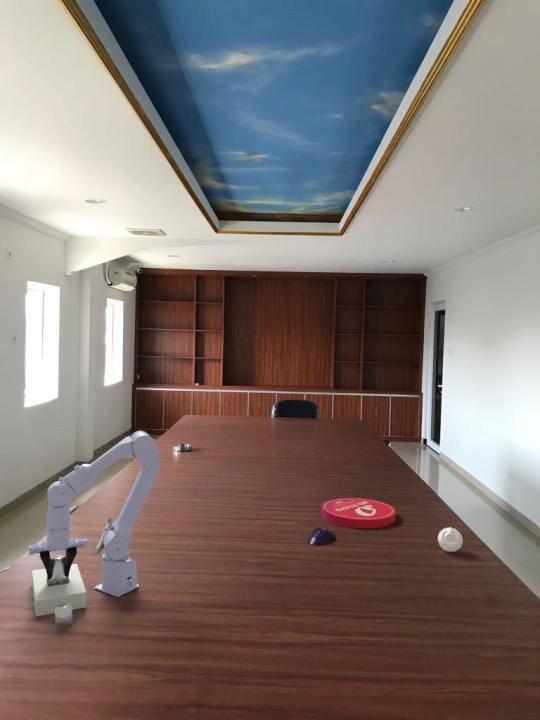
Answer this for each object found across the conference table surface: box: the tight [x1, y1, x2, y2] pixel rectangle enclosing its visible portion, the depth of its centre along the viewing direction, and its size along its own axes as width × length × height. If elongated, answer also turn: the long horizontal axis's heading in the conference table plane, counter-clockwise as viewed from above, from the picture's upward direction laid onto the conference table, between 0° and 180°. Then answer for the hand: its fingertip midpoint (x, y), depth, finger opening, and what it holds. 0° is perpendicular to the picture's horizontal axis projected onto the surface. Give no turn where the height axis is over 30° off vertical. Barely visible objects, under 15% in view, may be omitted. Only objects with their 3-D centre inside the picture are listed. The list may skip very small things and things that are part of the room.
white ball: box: [437, 527, 464, 553], centre depth 185 cm, size 8×8×8 cm
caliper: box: [93, 516, 113, 555], centre depth 187 cm, size 20×1×6 cm, turn 3°
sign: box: [320, 497, 397, 529], centre depth 222 cm, size 30×4×30 cm
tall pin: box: [50, 555, 66, 586], centre depth 147 cm, size 4×4×8 cm
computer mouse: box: [306, 527, 336, 547], centre depth 195 cm, size 9×15×4 cm, turn 142°
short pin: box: [54, 603, 74, 628], centre depth 133 cm, size 4×4×4 cm
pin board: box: [31, 563, 87, 617], centre depth 147 cm, size 20×12×4 cm, turn 26°
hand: (58, 576), depth 147 cm, fingers closed on tall pin, 4 cm apart
